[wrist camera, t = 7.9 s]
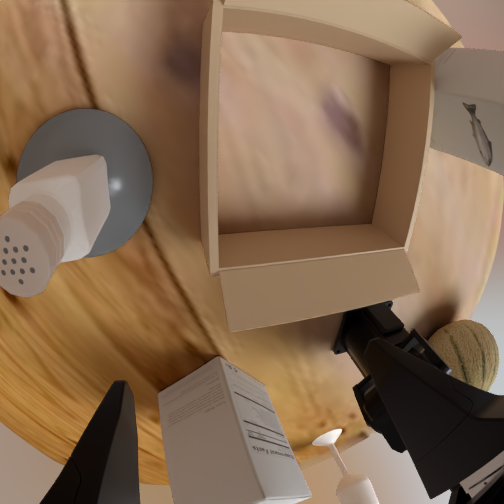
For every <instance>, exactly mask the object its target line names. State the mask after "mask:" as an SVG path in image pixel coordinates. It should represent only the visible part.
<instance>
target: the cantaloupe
mask: <svg viewBox="0 0 504 504" xmlns="http://www.w3.org/2000/svg"><path fill="white" fill-rule="evenodd" d="M428 342H429V343H430V344H431V345H432V346H433V347H434V349H435V350H436V351H437V352H438V353H439V354H440V355H441V357H442V358H443V359H444V360H445V362H446V363H447V364H448V365H449V367H450V368H451V369H452V371H453V372H452V373H451V374H450V375H451V376H453V377H455V378H457V379H459V380H461V381H463V382H465V383H467V384H469V385H472V386H474V387H477V388H479V389H482V390H484V391H488V390H489V389H490V387H491V385H492V384H493V382H494V380H495V378H496V375H497V371H498V364H499V354H498V347H497V344H496V341H495V339H494V337H493V335H492V334H491V333H490V331H489V330H488V329H487V328H486V327H485V326H483V325H482V324H480V323H477V322H474V321H472V320H460V321H456V322H453V323H449V324H447V325H445V326H444V327H442V328H440V329H438V330H437V331H436V332H435V333H434V334H433V335H432V336H431V337H430V338H429V340H428ZM424 350H425V349H423V350H422V351H421V352H420V353H422V352H423V351H424Z"/></svg>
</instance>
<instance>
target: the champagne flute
mask: <svg viewBox="0 0 504 504" xmlns="http://www.w3.org/2000/svg"><path fill="white" fill-rule="evenodd" d="M341 432H342V429H335V430H332V431H329V432H327V433H325V434H323V435H321V436H319V437H318V438H316V439H315V440H314V441H313V442H312V445H317V446H329V448H330V450H331V452H332V454H333V456H334V458H335V460H336V462H337V464H338V466H339V468H340V470H341V472H342V474H343V477H342V479H341V480H340V483H339V485H338V487H337V490H336V495H337V497H338V499H339V500H340V502H341V503H342V504H379V502H378V499H377V496H376V494H375V492H374V489H373V487H372V484H371V482H370V479H369V478H367V477H365V476H363V475H359V474H354V473H349V472H348V470H347V468H346V466H345V464H344V462H343V461H342V459H341V457H340V455H339V453H338V451H337V449H336V447H335V445H334V442H335V441H336V439H337V438H338V436H339V435H340V434H341Z"/></svg>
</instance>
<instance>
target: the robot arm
mask: <svg viewBox="0 0 504 504" xmlns="http://www.w3.org/2000/svg"><path fill="white" fill-rule="evenodd" d="M392 305H393V302H392V301H391V300H389V301H385V302H381V303H377V304H373V305H369V306H365V307H361V308H357V309H353V310H348V311H346V312H345V314H344V317H343V321H342V324H341V327H340V330H339V334H338V337H337V340H336V343H335V346H334V349H333V352H334V353H335V354H336V355H337V354H340V353H344V352H347V353H348V354H349V356H350V357H351V359H352V360H353V362H354V363H355V365H356V366H357V367H358V369H359V370H360V372H361V373H362V375H363V376H364V379H363V380H362V381H361V382H360V383H358V384H356V385H355V386H354V387H353V391H354V393H355V394H354V395H355V397H356V400H357V402H358V405H359V407H360V410H361V412H362V415H363V417H364V420H365V422H366V424H367V425H368V426H369V427H372V428H373V429H374V430H375V431H376V432H378V433H380V434H382V435H383V436H384V438H385V439H386V440H387V442H388V444H389V445H390V447H391V448H392V449H393V450H395V451H397V452H400V453H403V452H404V451H406V450H408V452H409V454H410V456H411V458H412V461H413V463H414V464H415V467H416V469H417V471H418V474H419V476H420V478H421V480H422V482H423V484H424V486H425V488H426V491H427V493H428V496H429V498H430V499H432V498H435V497H436V496H438V495H440V494H442V493H443V492H445V491H447V490H449V489H450V490H451V492H452V493H451V496H450V500H449V504H504V395H501V396H500V395H494V394H492V393H489V392H487V391H484V390H482V389H479V388H477V387H474V386H472V385H469V384H467V383H465V382H463V381H461V380H459V379H457V378H455V377H453V376H451V375H450V374H451V373H452V372H453V371H452V369H451V368H450V367H449V365H448V364H447V363H446V362H445V360H444V359H443V358H442V357H441V355H440V354H439V353H438V352H437V351H436V350H435V349H434V347H433V346H432V345H431V344H430V343H429V342H428V341H427V340H426V339H425V338H424V337H423V336H422V335H421V334H420V333H419V332H417V331H416V330H415V329H413V330H412V331H411V332H410V334H409V333H408V332H407V331H406V330H405V328H404V324H403V323H402V322H401V320H400V319H399V318H398V317H397V316H396V315H395V314H394V313H393V312H392V311H391V307H392ZM423 349H425V350H424V351H423V352H422V353H420V352H421V351H422V350H423ZM40 504H140V493H139V473H138V435H137V426H136V416H135V406H134V397H133V394H132V391H131V389H130V387H129V385H128V383H127V382H126V381H125V380H117V381H114V382H113V384H112V385H111V387H110V389H109V390H108V392H107V394H106V395H105V397H104V399H103V400H102V402H101V404H100V405H99V407H98V409H97V410H96V412H95V414H94V415H93V417H92V419H91V420H90V422H89V424H88V426H87V427H86V429H85V431H84V433H83V434H82V436H81V438H80V440H79V441H78V443H77V445H76V447H75V448H74V450H73V452H72V454H71V457H69V459H68V461H67V463H66V465H65V466H64V468H63V470H62V472H61V473H60V475H59V476H58V478H57V479H56V481H55V483H54V484H53V485H52V487H51V488H50V490H49V491H48V492H47V494H46V495H45V496H44V498H43V499H42V501H41V502H40Z"/></svg>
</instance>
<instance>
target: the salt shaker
mask: <svg viewBox="0 0 504 504" xmlns="http://www.w3.org/2000/svg"><path fill="white" fill-rule="evenodd" d="M8 200H9V209H8V210H7V211H6V212H5V213H4V214H2V215H1V216H0V286H1V287H3V288H4V289H5V290H6V291H8V292H9V293H10V294H12V295H16V296H21V297H25V298H29V297H32V296H35V295H37V294H40V293H42V292H43V291H44V289H45V288H46V286H47V284H48V282H49V280H50V279H51V277H52V275H53V273H54V271H55V270H56V268H57V266H58V265H59V264H60V263H61V262H68V261H73V260H78V259H81V258H83V257H84V256H86V255H87V254H88V253H90V251H91V249H92V246H93V244H94V242H95V240H96V238H97V236H98V234H99V232H100V230H101V228H102V226H103V224H104V222H105V221H106V219H107V217H108V215H109V212H110V208H111V206H110V197H109V188H108V177H107V165H106V161H105V159H104V157H103V156H100V155H97V154H96V155H89V156H82V157H76V158H70V159H64V160H59V161H55V162H53V163H51V164H49V165H47V166H46V167H44V168H42V169H40V170H38V171H36V172H35V173H33V174H31V175H29V176H28V177H26V178H24V179H23V180H21V181H19V182H18V183H16V184H15V185H14V186H13V187H12V188H11V190H10V195H9V199H8Z"/></svg>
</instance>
